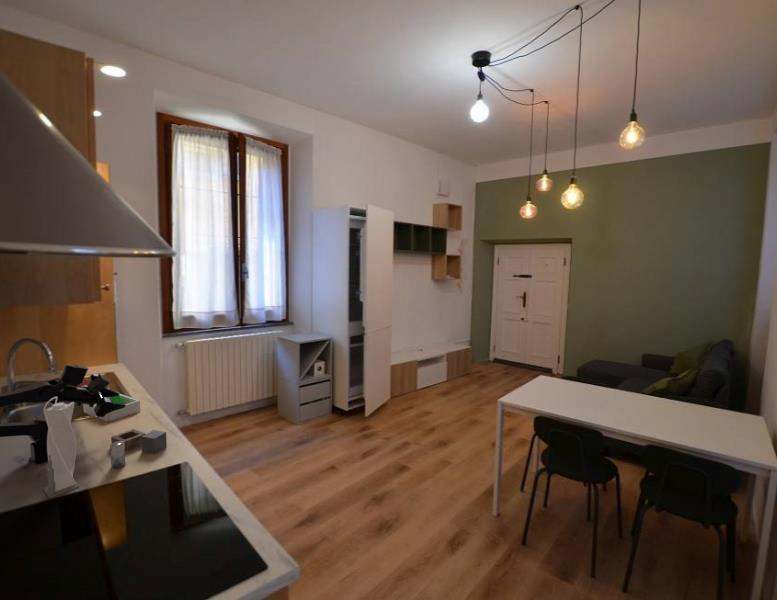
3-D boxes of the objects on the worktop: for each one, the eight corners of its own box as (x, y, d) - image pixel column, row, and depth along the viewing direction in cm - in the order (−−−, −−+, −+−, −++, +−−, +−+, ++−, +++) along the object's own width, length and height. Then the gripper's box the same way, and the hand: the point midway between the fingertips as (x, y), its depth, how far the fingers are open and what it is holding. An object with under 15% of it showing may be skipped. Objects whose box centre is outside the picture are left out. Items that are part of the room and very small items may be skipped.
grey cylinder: (115, 470, 130) (114, 447, 129) (108, 467, 131) (107, 444, 131) (127, 465, 133) (127, 442, 132) (121, 461, 135) (120, 440, 134)
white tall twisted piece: (42, 487, 119) (36, 399, 116) (74, 476, 126) (69, 392, 123) (49, 498, 114) (43, 407, 111) (83, 485, 121) (78, 399, 118)
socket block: (123, 452, 141) (123, 442, 141) (111, 447, 145) (111, 436, 144) (146, 443, 148) (145, 433, 148) (133, 438, 152) (133, 428, 152)
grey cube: (154, 454, 141) (154, 438, 140) (141, 452, 142) (141, 436, 141) (166, 447, 146) (166, 432, 146) (154, 445, 148) (153, 430, 147)
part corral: (107, 421, 166) (106, 410, 166) (83, 412, 175) (82, 401, 175) (140, 411, 178) (140, 400, 178) (116, 402, 188) (116, 392, 187)
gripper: (93, 387, 136) (139, 393, 148) (82, 364, 148) (125, 371, 160) (77, 416, 136) (124, 419, 148) (67, 390, 147) (111, 395, 159)
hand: (121, 400), depth 154 cm, fingers open, 9 cm apart
